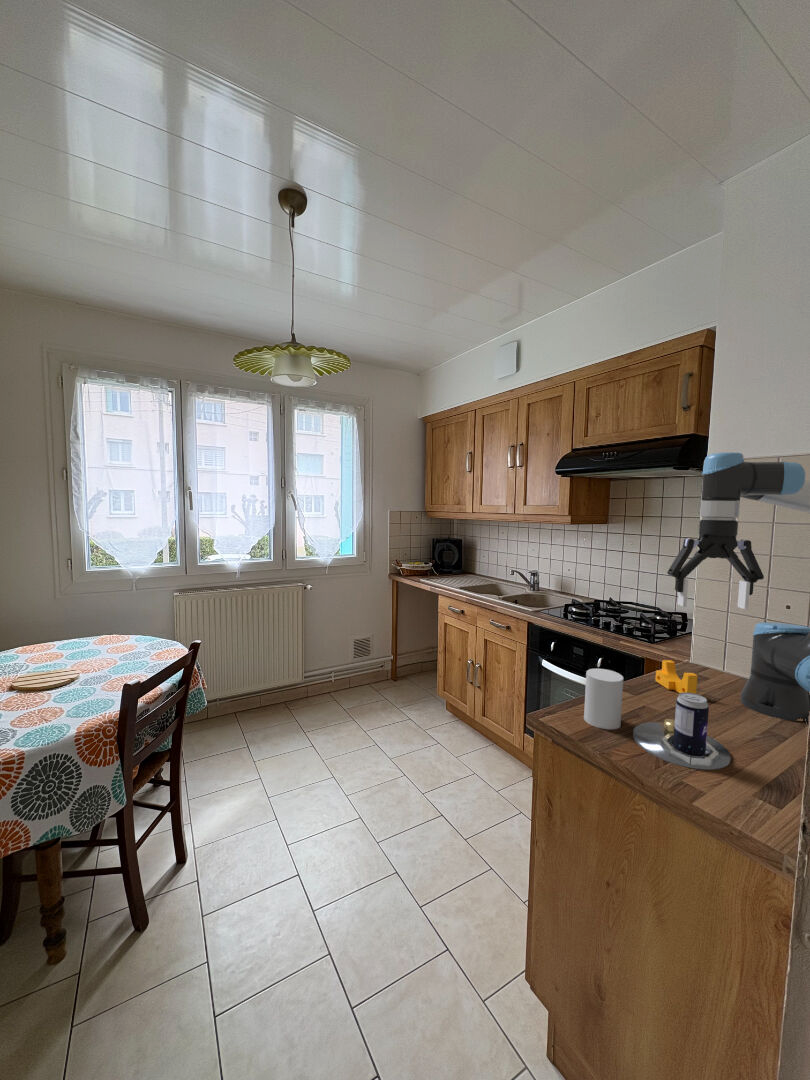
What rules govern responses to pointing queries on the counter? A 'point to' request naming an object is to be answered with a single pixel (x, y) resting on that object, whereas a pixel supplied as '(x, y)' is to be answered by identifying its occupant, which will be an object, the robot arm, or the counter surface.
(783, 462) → the robot arm
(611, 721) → the white cylinder
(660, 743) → the carrier
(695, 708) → the beverage can
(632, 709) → the counter surface
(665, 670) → the pipe clamp
